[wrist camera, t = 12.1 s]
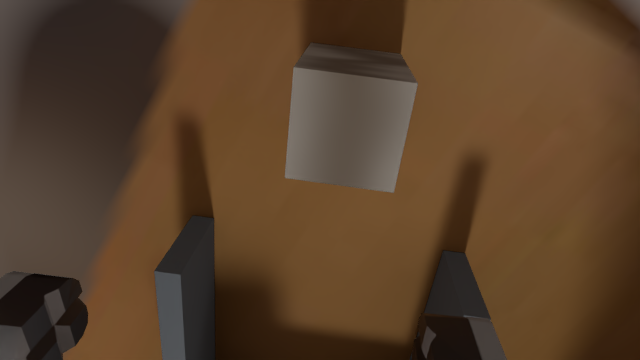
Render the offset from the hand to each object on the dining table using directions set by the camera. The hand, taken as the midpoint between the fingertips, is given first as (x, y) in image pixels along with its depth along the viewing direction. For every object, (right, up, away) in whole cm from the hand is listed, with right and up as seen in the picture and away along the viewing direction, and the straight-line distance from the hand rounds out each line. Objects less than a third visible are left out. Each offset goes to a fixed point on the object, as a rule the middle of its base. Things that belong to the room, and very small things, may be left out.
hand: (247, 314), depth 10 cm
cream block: (+3, +8, +14) cm, 17 cm away
